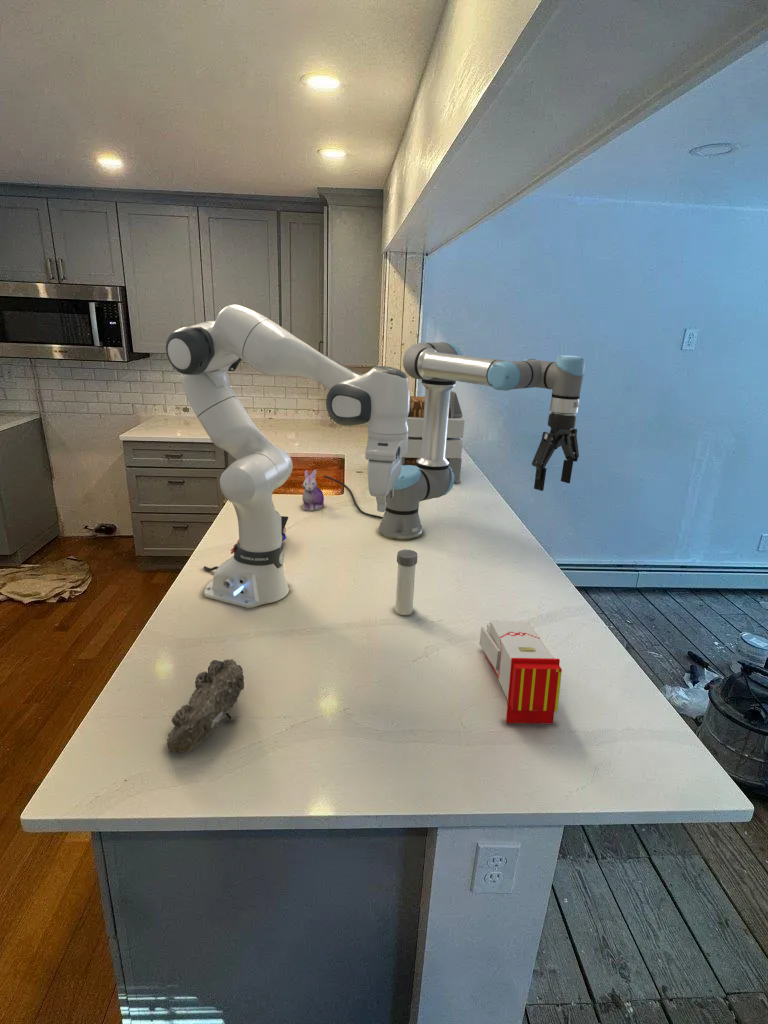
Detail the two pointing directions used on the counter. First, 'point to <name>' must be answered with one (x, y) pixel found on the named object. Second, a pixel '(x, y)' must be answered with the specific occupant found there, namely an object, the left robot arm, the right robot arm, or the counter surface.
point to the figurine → (312, 492)
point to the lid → (407, 558)
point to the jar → (405, 589)
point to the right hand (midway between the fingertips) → (552, 485)
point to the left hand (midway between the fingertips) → (385, 504)
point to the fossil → (206, 705)
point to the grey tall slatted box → (453, 434)
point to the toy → (523, 670)
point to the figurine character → (283, 526)
